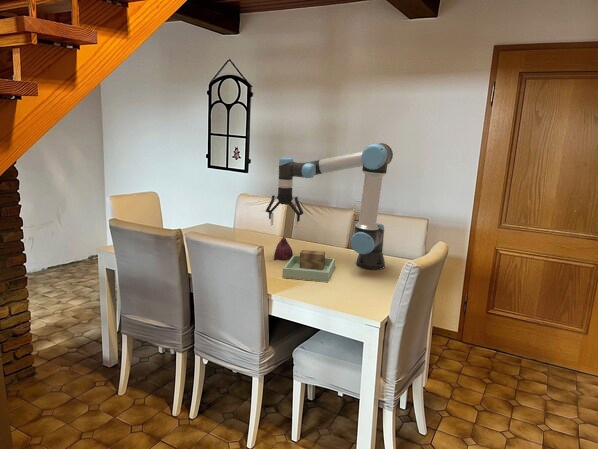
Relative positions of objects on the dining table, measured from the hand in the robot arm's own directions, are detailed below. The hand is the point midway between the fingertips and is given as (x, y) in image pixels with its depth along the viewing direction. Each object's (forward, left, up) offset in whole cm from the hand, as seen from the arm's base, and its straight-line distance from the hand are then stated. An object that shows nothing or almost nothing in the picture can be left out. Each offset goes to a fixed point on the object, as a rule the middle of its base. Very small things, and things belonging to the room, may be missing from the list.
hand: (284, 226), depth 248 cm
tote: (-18, +19, -19) cm, 32 cm away
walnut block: (-18, +12, -18) cm, 28 cm away
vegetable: (0, 0, -19) cm, 19 cm away
